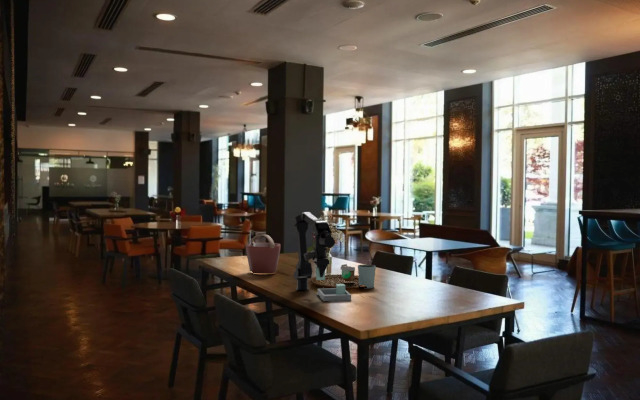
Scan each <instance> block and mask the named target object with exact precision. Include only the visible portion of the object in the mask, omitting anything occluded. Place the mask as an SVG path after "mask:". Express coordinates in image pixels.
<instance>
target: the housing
mask: <svg viewBox="0 0 640 400" xmlns="http://www.w3.org/2000/svg"><path fill="white" fill-rule="evenodd" d="M318 295H319V296H320V297H319V296H318ZM317 296H318V297H319V298H320V300H321V301H322V300H323V301H335V302H351V301H352V294H351V293H350V292H349V291H348V290H346V284H344V283H336V284H335V287H334V288H333V287H331V288H317ZM323 301H322V302H323Z"/></svg>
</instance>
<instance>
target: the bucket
mask: <svg viewBox="0 0 640 400" xmlns="http://www.w3.org/2000/svg"><path fill="white" fill-rule="evenodd" d="M262 236H263V237H265V238H266V239H267V241H268V242H255V241H256V240H258V239H259V238H260V237H262ZM280 252H281V243H275V241H274V240H273V238H272V237H271V236H270V235H268V234H257V235H255V236H254V237H252V239H251V240H250V243H247V244H245V253H246V257H247V262H248V268H249V272H250V271H252V272H253V273H273V272H276V273H277V269H278V263H279V259H280Z"/></svg>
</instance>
